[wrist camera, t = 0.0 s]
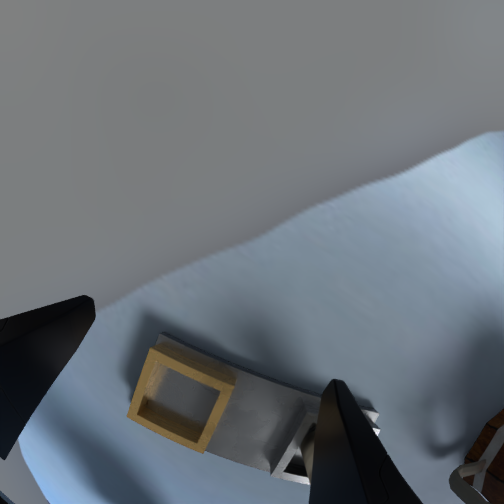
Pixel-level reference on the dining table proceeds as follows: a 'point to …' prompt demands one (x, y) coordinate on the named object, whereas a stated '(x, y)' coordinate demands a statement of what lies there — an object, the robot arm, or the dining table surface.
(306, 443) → the peg
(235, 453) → the grey socket board
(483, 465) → the mug
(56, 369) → the robot arm
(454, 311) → the dining table surface
